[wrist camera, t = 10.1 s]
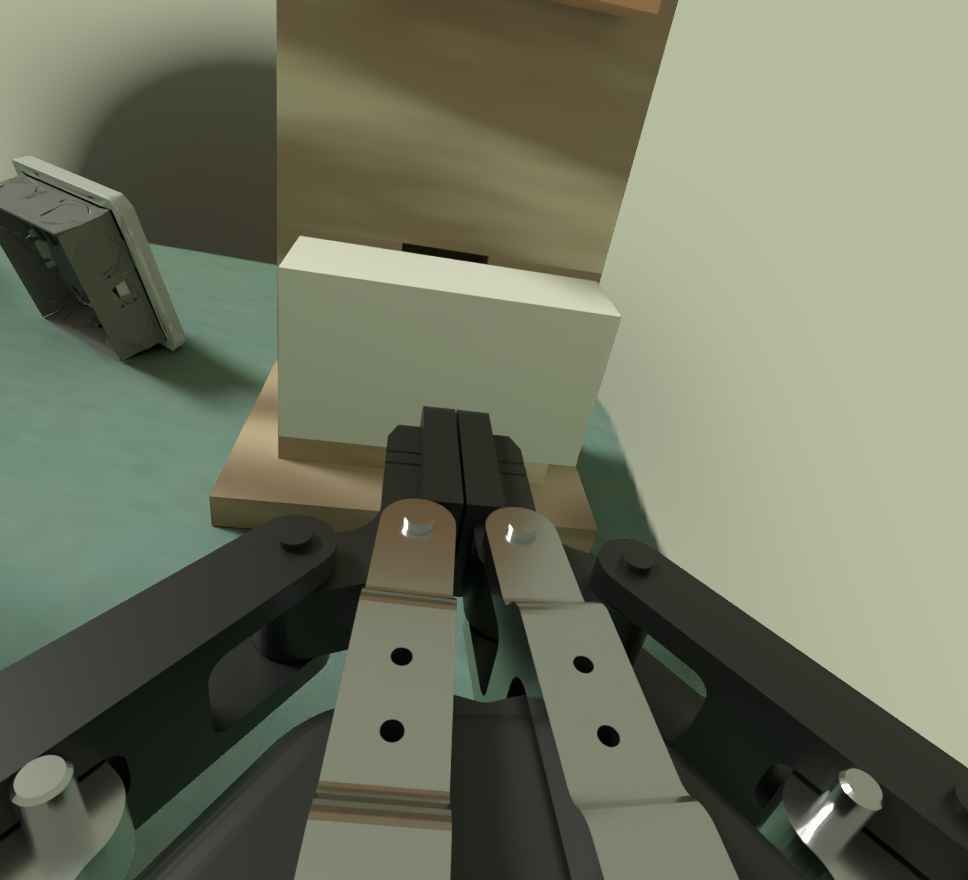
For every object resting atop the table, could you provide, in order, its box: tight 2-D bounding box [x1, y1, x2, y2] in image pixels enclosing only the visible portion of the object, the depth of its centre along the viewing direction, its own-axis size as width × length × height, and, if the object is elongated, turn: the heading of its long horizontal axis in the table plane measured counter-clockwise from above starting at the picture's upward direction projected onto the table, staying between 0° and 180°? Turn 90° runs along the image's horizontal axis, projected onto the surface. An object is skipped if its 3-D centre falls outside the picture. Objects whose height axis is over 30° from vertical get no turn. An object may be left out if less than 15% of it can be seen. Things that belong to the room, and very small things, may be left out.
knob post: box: [209, 0, 678, 553], centre depth 24 cm, size 13×16×28 cm
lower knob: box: [278, 236, 621, 467], centre depth 21 cm, size 8×9×5 cm
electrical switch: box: [0, 156, 186, 362], centre depth 34 cm, size 9×5×9 cm, turn 58°
